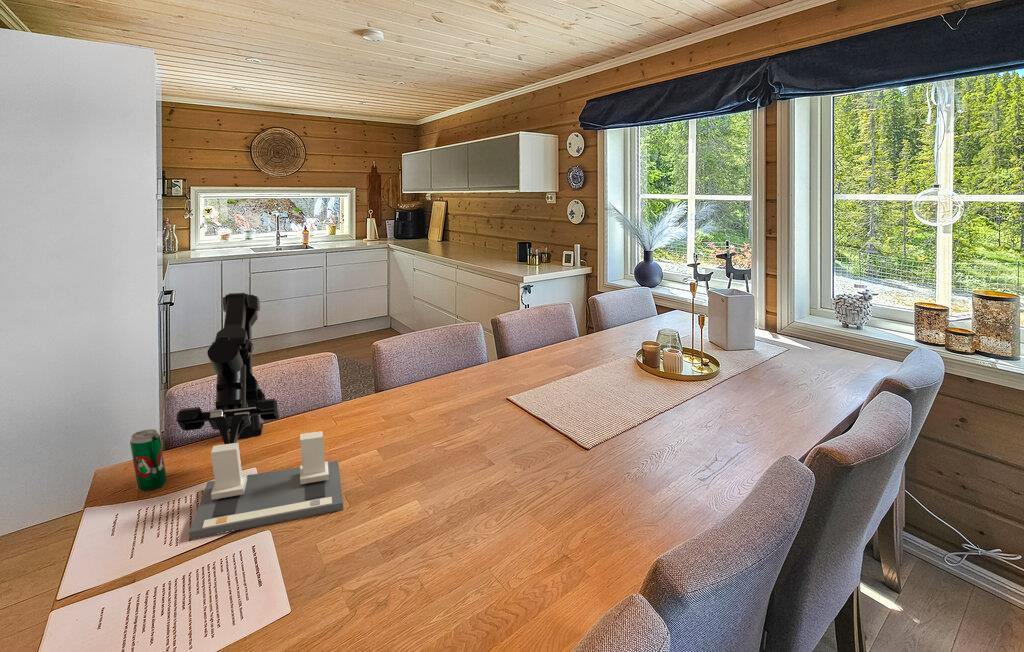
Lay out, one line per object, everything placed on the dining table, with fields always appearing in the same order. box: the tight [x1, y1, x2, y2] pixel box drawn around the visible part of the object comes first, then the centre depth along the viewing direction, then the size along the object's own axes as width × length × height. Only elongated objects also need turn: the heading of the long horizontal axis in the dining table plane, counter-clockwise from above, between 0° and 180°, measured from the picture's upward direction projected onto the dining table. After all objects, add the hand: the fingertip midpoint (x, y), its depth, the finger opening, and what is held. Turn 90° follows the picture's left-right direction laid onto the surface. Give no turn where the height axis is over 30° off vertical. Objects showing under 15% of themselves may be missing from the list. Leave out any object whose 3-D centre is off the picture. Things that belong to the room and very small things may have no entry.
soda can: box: [129, 429, 168, 492], centre depth 103 cm, size 5×5×12 cm
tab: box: [299, 430, 329, 484], centre depth 105 cm, size 6×6×9 cm
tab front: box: [210, 442, 248, 500], centre depth 99 cm, size 6×6×9 cm
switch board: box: [188, 460, 344, 540], centre depth 101 cm, size 18×26×2 cm
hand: (229, 452), depth 103 cm, fingers closed
